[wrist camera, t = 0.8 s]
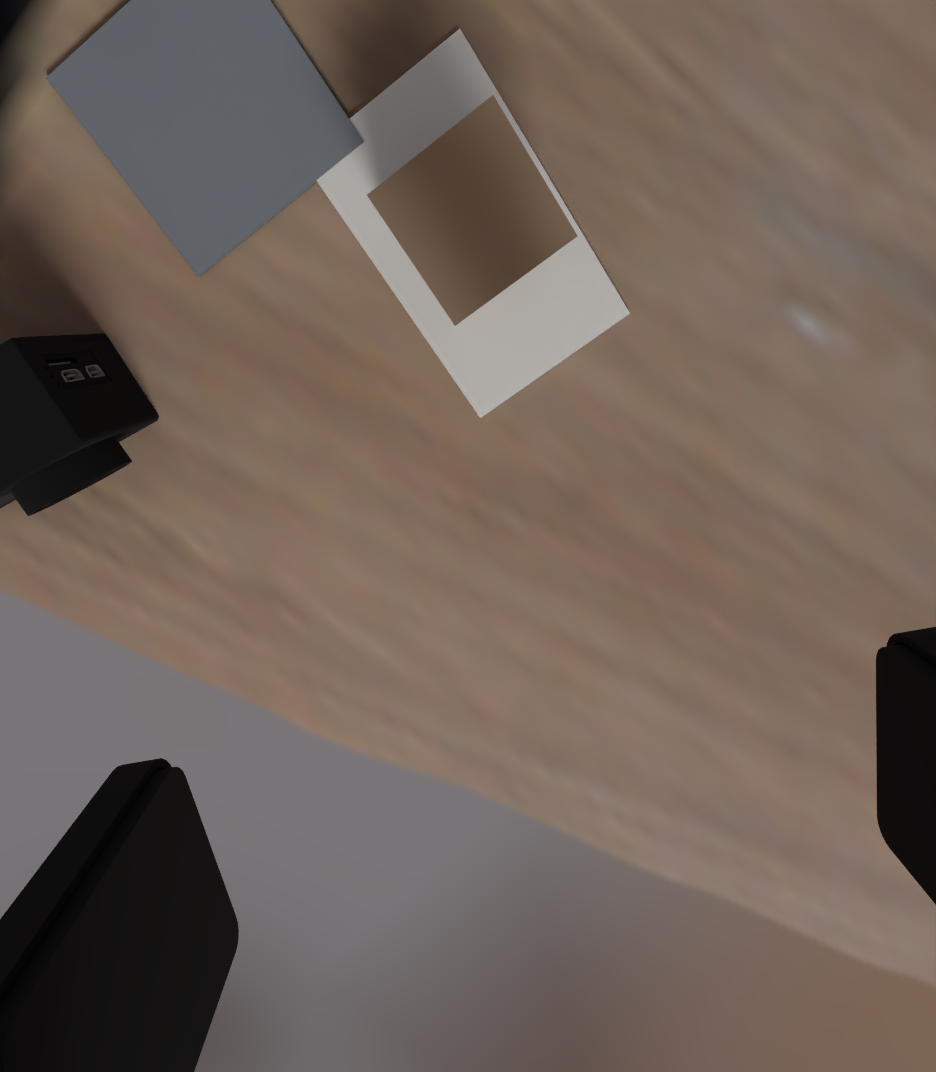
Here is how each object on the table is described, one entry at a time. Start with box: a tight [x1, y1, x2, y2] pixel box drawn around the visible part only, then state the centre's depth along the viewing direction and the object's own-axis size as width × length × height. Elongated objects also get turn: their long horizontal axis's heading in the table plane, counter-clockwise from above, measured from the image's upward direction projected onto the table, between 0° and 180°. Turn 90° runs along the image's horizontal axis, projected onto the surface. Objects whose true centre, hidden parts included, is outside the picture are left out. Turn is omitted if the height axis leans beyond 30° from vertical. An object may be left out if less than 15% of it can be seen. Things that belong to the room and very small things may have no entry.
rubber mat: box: [46, 0, 364, 276], centre depth 28 cm, size 9×9×1 cm
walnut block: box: [367, 95, 577, 326], centre depth 26 cm, size 5×5×7 cm
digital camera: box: [0, 334, 159, 516], centre depth 29 cm, size 10×5×7 cm, turn 117°
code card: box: [316, 29, 630, 418], centre depth 30 cm, size 8×13×1 cm, turn 35°
